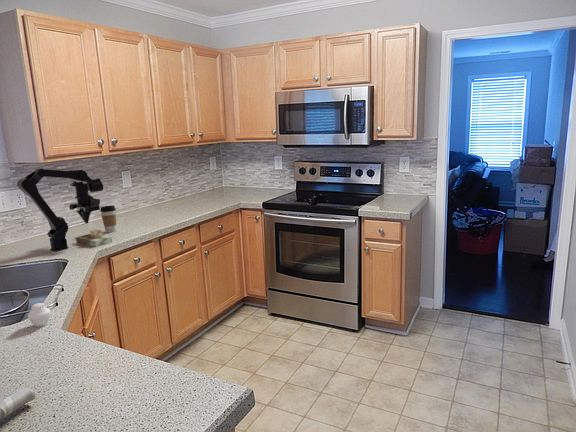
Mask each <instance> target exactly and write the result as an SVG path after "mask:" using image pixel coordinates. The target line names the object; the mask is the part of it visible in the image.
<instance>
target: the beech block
mask: <svg viewBox="0 0 576 432" xmlns="http://www.w3.org/2000/svg"><path fill="white" fill-rule="evenodd" d="M89 234H91V238H92V239H98V238H101V237H103V236H102V235H103V230H102V229H100V228H99V229H98V228H96V229H92V230H90V231H89Z"/></svg>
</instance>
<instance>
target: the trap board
mask: <svg viewBox="0 0 576 432" xmlns="http://www.w3.org/2000/svg"><path fill="white" fill-rule="evenodd" d="M102 236H103V237H101V238H98V239H92V238H91V234H90V233H87V234H84V235H81V236H76V237H75V241H76V244H81V245H86V246H91V247H96V248H97V247H98V248H99V247H102V246H104V245H108V244H111V243H113V238H112V236H109V235H103V234H102Z"/></svg>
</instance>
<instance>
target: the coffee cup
mask: <svg viewBox="0 0 576 432" xmlns="http://www.w3.org/2000/svg"><path fill="white" fill-rule="evenodd" d="M116 210H117V209H116V206H115V205H105V206H104V205H103V206H100V210H99V212H100V215H101V219H102V224H103V226H104V230H105V233H107V234H109V233H115V232H117V214H116Z"/></svg>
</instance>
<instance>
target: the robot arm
mask: <svg viewBox="0 0 576 432" xmlns="http://www.w3.org/2000/svg"><path fill="white" fill-rule="evenodd" d="M44 177H45V178H46V177H47V178H60V179H61V178H62V179H63V178H64V179H69V180H71V181H72V183H70V187H75V196H74V199H76V201H77V202H73V203H71V204H69V205H68V206H69V211H70V210H72V211H74V209H76V210H75V212H77V214H78V215H79V217H80V218H81V219H82V220H83V222H84V223H85V224H89V220H90V216H91V213H92V212H95V211H100V210H101V206H100V205H101V204H100V203H101V199H100V198H94V196H92V195H91V194H89V192H90V193H97V192H103V190H104V184H103V183H102V180H101V178H93V179H92V178H91V177H90V176H89V175H88V173H87V171H86V170H85V169H69V170H59V169H49V168H47V169H46V168H45V169H44V168H41V167H38V168H36V169H35V170H34V171H32V172H31V173H29V174H27V175H26V176H24V177H23V178H22V177H21V178H20V179H18V180H17V183H16V185H17V188H18V189H19V190H20V191H21V192H22V193H24V194H25V195H26V196H28V197H29V199H30V200H32V202H33V203H34V204H35V206H36V207H37V208H38V210H39V211H40V212H41V213H42V215H43V216H44V217H45V219H46V220H47V221H48V225H49V228H50V230H48V232H47V234H46V235H47V236H48V237H49V242H50V243H49V244H50V248H49V251H53V252H59V251H63V250H67V249H69V248H70V247H69V246H68V241H67V238H66V237H67V236H66V235H67V233H68V231H69V223H67V221H66V220H65V218H64V217H61V216H57V215H56V213H55V212H54V211H53V209H52V208H51V207H50V205H49V204H48V203H47V202H46V201H45V199H44V198H43V197H42V195H41V194H40V192H39V189H38V185H37V184H39V183H40V181H41V180H42V179H43V178H44ZM76 181H77V182H76Z"/></svg>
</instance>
